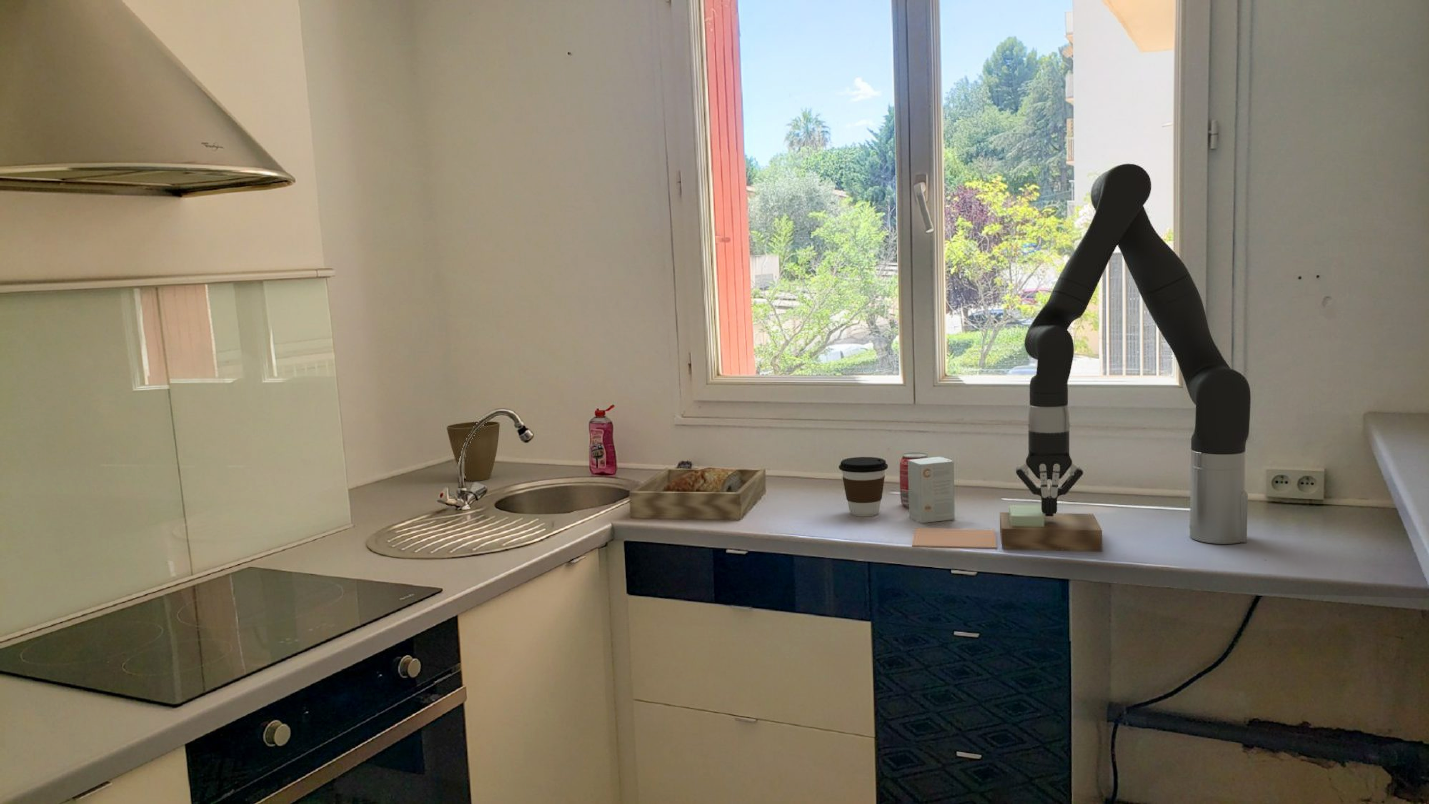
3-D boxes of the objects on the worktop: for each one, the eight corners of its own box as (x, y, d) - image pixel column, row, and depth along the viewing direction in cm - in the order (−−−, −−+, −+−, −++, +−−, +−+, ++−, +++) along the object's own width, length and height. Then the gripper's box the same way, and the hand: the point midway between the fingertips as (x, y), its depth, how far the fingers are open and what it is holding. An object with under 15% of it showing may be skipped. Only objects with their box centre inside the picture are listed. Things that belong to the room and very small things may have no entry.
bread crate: (766, 492, 246) (765, 468, 246) (741, 519, 219) (740, 493, 218) (666, 491, 253) (665, 468, 252) (630, 517, 226) (629, 492, 225)
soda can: (935, 503, 226) (934, 452, 225) (925, 510, 220) (924, 458, 219) (906, 501, 230) (905, 451, 229) (895, 507, 224) (894, 456, 222)
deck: (1093, 533, 195) (1093, 513, 194) (1102, 551, 182) (1102, 530, 182) (999, 531, 199) (999, 512, 199) (1002, 548, 187) (1001, 528, 187)
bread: (714, 519, 221) (712, 476, 220) (646, 514, 230) (644, 472, 229) (753, 500, 239) (752, 460, 238) (689, 495, 248) (687, 457, 247)
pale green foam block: (1040, 515, 195) (1040, 505, 195) (1044, 526, 186) (1044, 516, 186) (1009, 515, 197) (1008, 505, 196) (1011, 526, 188) (1011, 516, 188)
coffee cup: (887, 506, 225) (885, 455, 224) (890, 518, 214) (889, 464, 213) (839, 507, 226) (838, 457, 225) (841, 519, 215) (839, 466, 214)
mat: (994, 531, 200) (994, 529, 200) (996, 548, 187) (996, 547, 187) (915, 529, 204) (915, 528, 204) (912, 546, 191) (912, 545, 191)
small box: (941, 513, 217) (940, 456, 215) (955, 519, 211) (954, 460, 209) (908, 517, 215) (906, 459, 213) (921, 523, 209) (920, 464, 207)
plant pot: (511, 478, 280) (507, 423, 278) (460, 486, 272) (455, 429, 270) (493, 471, 292) (489, 418, 290) (444, 478, 284) (440, 424, 282)
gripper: (1082, 424, 190) (1082, 511, 192) (1012, 425, 193) (1012, 510, 196) (1087, 430, 183) (1087, 520, 185) (1014, 431, 186) (1014, 519, 188)
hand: (1048, 515), depth 190 cm, fingers closed
